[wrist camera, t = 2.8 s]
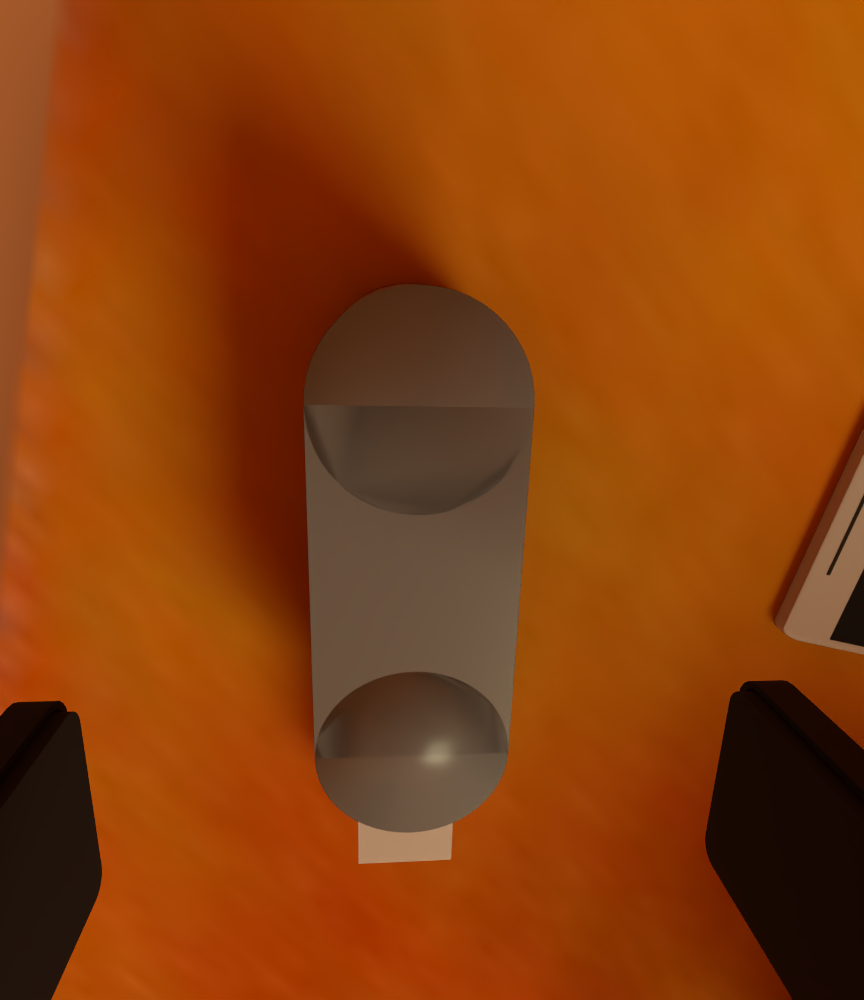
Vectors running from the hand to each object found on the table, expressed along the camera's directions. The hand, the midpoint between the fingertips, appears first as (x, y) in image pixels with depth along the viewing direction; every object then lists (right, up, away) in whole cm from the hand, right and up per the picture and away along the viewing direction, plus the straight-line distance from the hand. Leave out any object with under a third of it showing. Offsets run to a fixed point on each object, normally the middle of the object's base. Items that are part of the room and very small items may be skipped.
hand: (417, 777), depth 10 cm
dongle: (-1, +2, +10) cm, 10 cm away
